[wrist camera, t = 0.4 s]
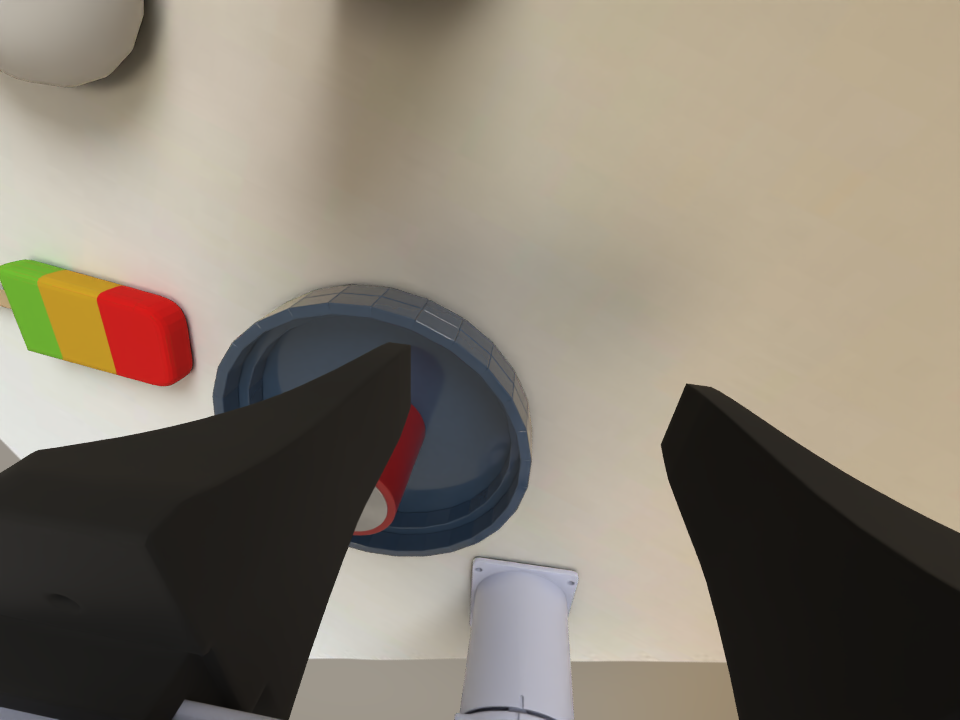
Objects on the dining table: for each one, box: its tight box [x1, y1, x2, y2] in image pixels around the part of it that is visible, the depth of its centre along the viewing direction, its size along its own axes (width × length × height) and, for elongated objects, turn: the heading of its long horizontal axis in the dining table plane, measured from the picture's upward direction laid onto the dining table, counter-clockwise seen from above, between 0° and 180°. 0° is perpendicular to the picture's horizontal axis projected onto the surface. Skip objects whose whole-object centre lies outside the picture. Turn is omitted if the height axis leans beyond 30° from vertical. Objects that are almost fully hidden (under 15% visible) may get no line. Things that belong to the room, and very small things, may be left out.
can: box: [353, 404, 425, 535], centre depth 22 cm, size 5×5×6 cm
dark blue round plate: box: [213, 284, 532, 556], centre depth 24 cm, size 18×18×3 cm
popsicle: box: [0, 260, 192, 386], centre depth 23 cm, size 6×15×2 cm, turn 76°
